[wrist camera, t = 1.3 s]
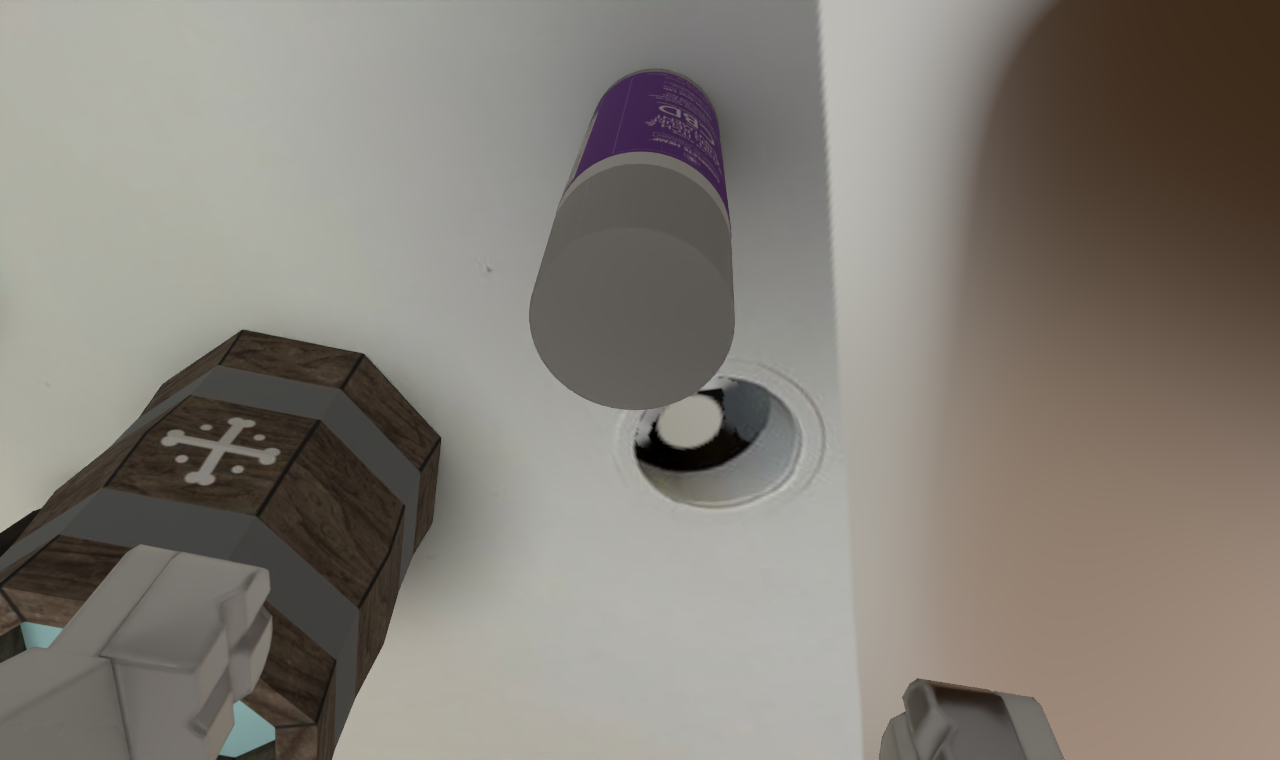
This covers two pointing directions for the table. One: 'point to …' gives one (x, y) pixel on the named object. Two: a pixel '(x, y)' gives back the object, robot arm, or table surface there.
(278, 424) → the mug
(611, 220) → the container
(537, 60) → the table surface
